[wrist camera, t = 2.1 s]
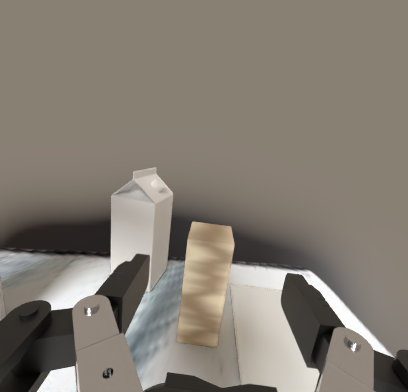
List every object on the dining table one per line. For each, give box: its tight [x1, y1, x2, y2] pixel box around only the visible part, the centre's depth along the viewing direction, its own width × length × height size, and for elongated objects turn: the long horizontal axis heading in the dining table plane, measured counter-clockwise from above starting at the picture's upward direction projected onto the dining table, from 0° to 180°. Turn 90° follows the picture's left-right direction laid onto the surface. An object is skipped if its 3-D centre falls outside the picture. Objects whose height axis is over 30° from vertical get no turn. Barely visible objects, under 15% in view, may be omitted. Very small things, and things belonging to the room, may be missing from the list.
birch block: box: [176, 222, 234, 348], centre depth 26 cm, size 5×5×14 cm
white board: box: [230, 284, 320, 392], centre depth 28 cm, size 10×17×1 cm, turn 177°
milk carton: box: [111, 168, 173, 292], centre depth 34 cm, size 7×7×19 cm
